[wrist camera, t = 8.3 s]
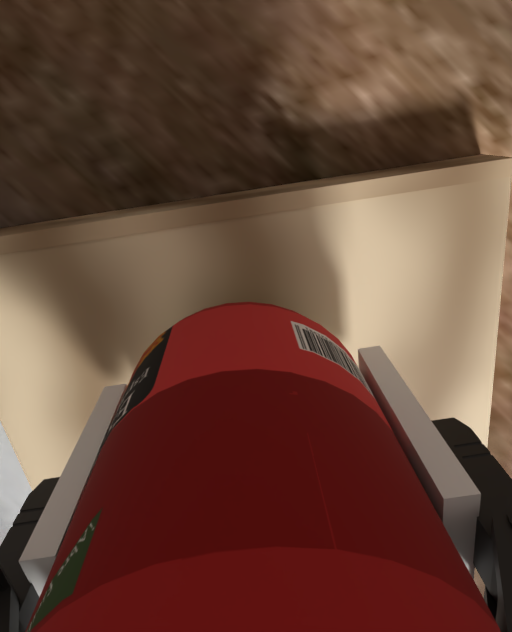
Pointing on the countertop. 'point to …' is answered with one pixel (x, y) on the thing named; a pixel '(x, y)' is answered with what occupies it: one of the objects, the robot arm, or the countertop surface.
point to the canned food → (255, 497)
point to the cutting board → (258, 288)
